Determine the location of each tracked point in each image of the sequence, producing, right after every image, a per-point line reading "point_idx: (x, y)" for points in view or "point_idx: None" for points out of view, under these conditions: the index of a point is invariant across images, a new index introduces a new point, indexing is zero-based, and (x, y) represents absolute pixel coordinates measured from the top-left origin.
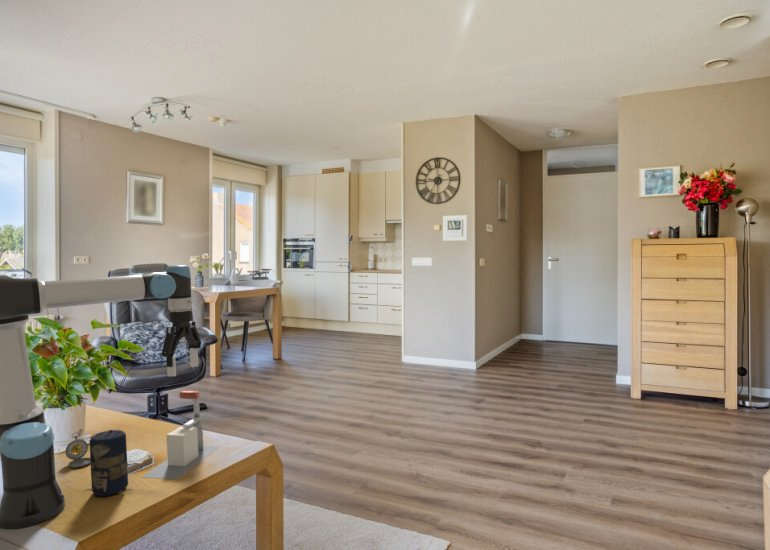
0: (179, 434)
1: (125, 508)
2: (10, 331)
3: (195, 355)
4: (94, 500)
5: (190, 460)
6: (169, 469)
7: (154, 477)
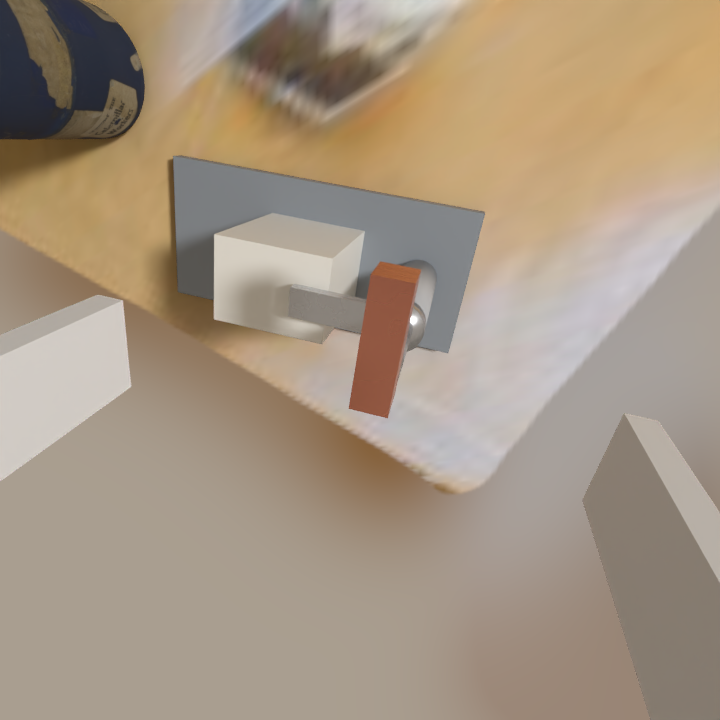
0: (224, 297)
1: (34, 203)
2: None
3: (641, 639)
4: None
5: None
6: None
7: (177, 210)
